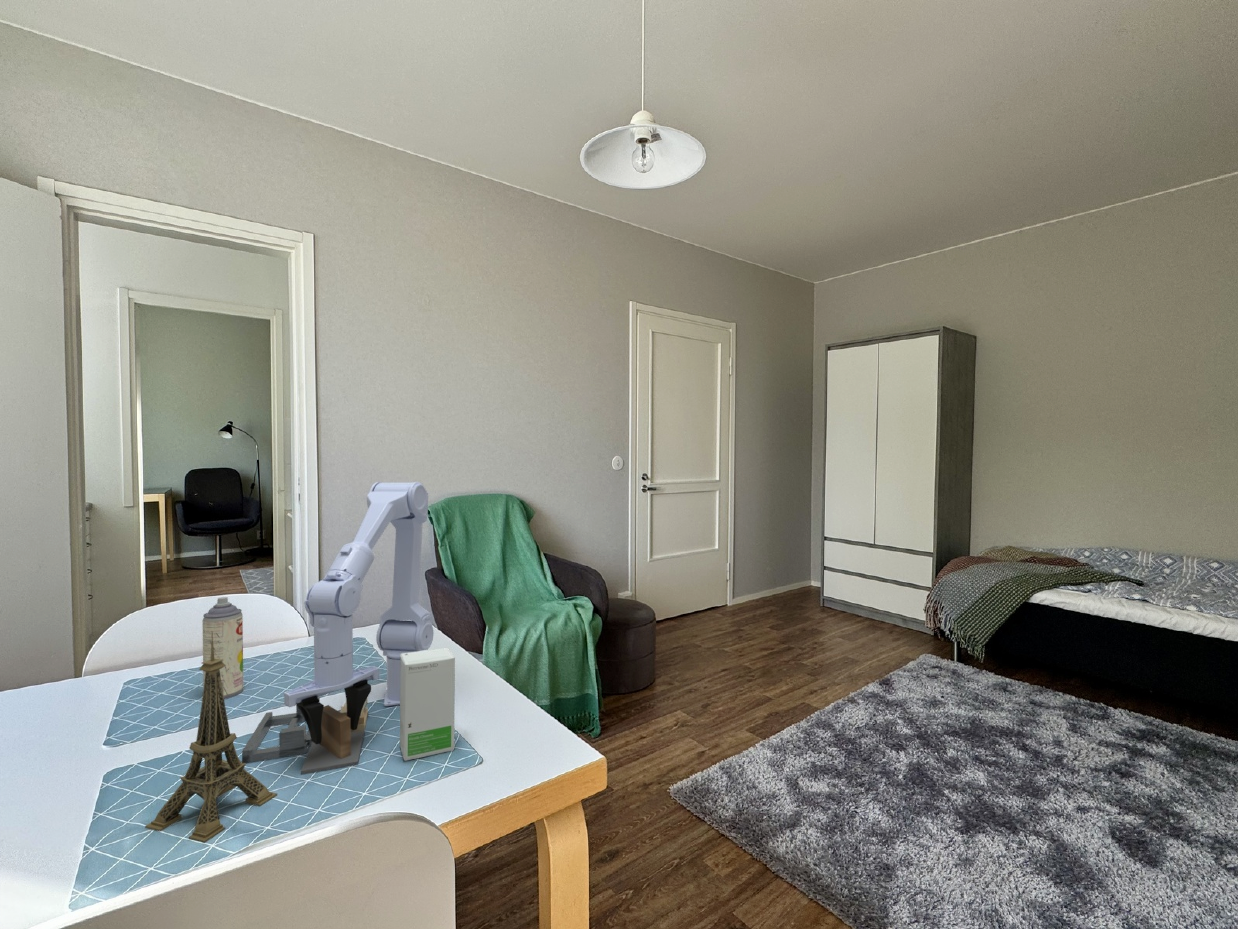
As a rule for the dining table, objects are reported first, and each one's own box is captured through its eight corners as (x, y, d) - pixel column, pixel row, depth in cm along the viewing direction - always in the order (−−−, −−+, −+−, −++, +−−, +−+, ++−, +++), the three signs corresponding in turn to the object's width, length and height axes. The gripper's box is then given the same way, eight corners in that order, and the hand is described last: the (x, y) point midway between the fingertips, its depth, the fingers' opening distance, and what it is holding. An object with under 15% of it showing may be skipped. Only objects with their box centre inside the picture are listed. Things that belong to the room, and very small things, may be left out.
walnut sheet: (328, 740, 96) (328, 705, 96) (350, 755, 91) (350, 718, 91) (318, 743, 95) (318, 708, 95) (340, 759, 90) (340, 721, 90)
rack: (322, 715, 106) (322, 694, 106) (307, 753, 93) (307, 729, 93) (266, 723, 103) (266, 702, 103) (242, 763, 90) (241, 738, 90)
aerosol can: (245, 694, 117) (244, 598, 116) (204, 703, 112) (203, 603, 112) (241, 684, 122) (240, 592, 122) (202, 692, 118) (201, 597, 117)
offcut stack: (368, 714, 107) (367, 696, 107) (364, 731, 100) (364, 712, 100) (341, 717, 106) (341, 699, 105) (336, 735, 99) (336, 716, 99)
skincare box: (403, 762, 90) (402, 665, 89) (398, 744, 95) (397, 653, 95) (456, 750, 93) (456, 656, 93) (449, 733, 99) (448, 645, 99)
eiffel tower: (222, 784, 84) (220, 618, 84) (277, 795, 81) (275, 623, 81) (145, 828, 74) (142, 639, 74) (204, 843, 71) (202, 646, 71)
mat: (364, 733, 99) (364, 730, 99) (357, 764, 89) (357, 761, 89) (313, 741, 97) (313, 738, 97) (300, 774, 86) (300, 771, 86)
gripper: (364, 637, 101) (365, 712, 101) (275, 660, 90) (276, 744, 90) (385, 645, 97) (385, 723, 97) (294, 670, 85) (295, 759, 85)
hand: (334, 734), depth 93 cm, fingers open, 5 cm apart
